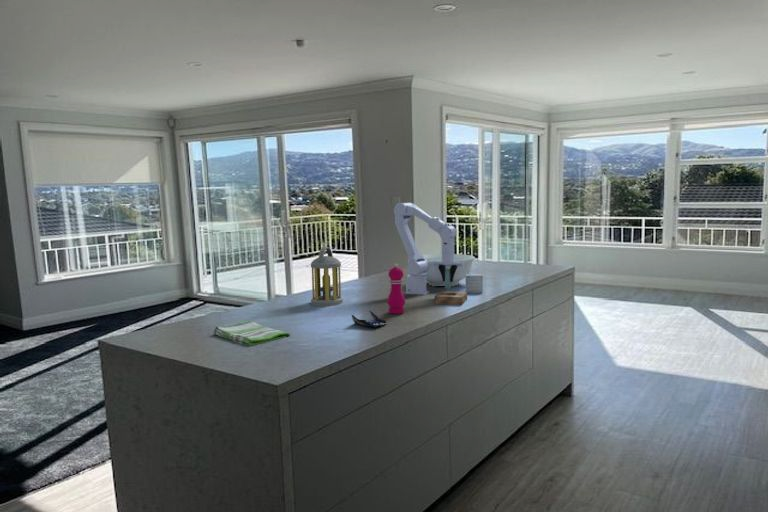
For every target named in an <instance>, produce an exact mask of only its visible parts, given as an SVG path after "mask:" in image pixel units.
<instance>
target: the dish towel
mask: <svg viewBox="0 0 768 512" xmlns="http://www.w3.org/2000/svg"><path fill="white" fill-rule="evenodd" d="M212 333H213V334H214V336H218V337H221V338H224V339H226V340H229V341H232V342H235V343H238V344H242V345H244V346H249V347H251V346H256V345H260V344H261V345H262V344H264V343H268V342H272V341H276V340H279V339H284V338H288V337H290V336H291V334H290V333H289V332H285V331H282V330H279V329H278V330H277V329H275V328H271V327H268V326H265V325H261V324H258V323H257V322H255V321H253V320H247V321H243V322H241V321H239V322H237V323H231V324H230V323H229V324H225V325H215V328H214V330H213V332H212Z"/></svg>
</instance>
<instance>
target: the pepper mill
mask: <svg viewBox="0 0 768 512" xmlns="http://www.w3.org/2000/svg"><path fill="white" fill-rule="evenodd" d="M388 277H389V278H390V280H389V281H390V282H389V283H390V285H391V286H390V292H389V295H388V298H387V303H386V304H388V306H389V308H388V313H389V314H390V313H394V314H393V315H401V314H400V313H402V314H404V313H405V308H404V306H405V305H406V298H405V296H404V294H403V291H402V284H403V279H402V278H403V277H404V271H403V269H402V268H400V267H399V265H398V263H394V264H393V267H391V268H390V269H389V271H388Z"/></svg>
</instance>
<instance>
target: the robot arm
mask: <svg viewBox="0 0 768 512" xmlns="http://www.w3.org/2000/svg"><path fill="white" fill-rule="evenodd" d="M392 212H393V214H394V224H395V227H396V230H397V232H398V235H399V237H400V240H401V242H402V244H403V247H404V249H405V252H406V255H407V257H408V259H407V261H406V262H407V265H408V271H409V273H410V274H407V275H406V279H405V285H406V287H405V288H406V289H405V290H406V292H405V294H406V295H420V294H421V295H422V294H423V295H425V296H426V295H427V294H429V292H430V291H429V290H427V289H428V288H427V282H428V281H427V280H426V274H427V271H428V270H429V264H428V262H427V261H426V260H425V259H424V257H423V256H422V255H423V254H421V252H420V250H419V249H418V247H417V245H416V242H415V239H414V237H413V234H412V232H411V230H410V227H409V225H408V222H410V221H409V220H411V218H412V216H415V217H416V218H418V219H420V220H421V221H423V222H425V223H427V226H428V228H430V229H431V230H432V231H434V232H435V233H437V234H438V235H439V237H440V238H441V254H442V261H432V266H435V265H437V266H439V267H438V269H439V271H440V273H441V275H442V279H443V282H445V268H446V266H452V267H450V270H451V279H450V281H451V282H453V278H454V274H455V272H456V269H457V267H458V266H461V267H463V266H464V262H457V261H454V254H455V237H456V236H457V232H458V231H457V228H456V227H455V226H454V225H452V224H451V225H449V223H448V222H444V221H443V220H442V219H441V217H439V216H434V217H432V216H430V215H429V214H428V213H426V212H425V210H423V209H421V208H420V207H419V206H418V205H416V204H414V203H413V202H398V203H396V204H395V207H394V208H393V211H392ZM443 264H452V265H443ZM423 295H422V296H423Z"/></svg>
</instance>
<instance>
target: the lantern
mask: <svg viewBox="0 0 768 512" xmlns="http://www.w3.org/2000/svg"><path fill="white" fill-rule="evenodd" d="M325 252H327V255H325V254H326V253H325ZM341 267H342V263H341V261H340V260H339V259H338V258H337V257H334V256H333V252H332V249H331V248H330V247H328V246H323V247H321V249H320V250H319V253H318V257H316V258H314V259H313V260H312V261H311V263H310V268H311V287H312V289H311V290H312V291H311V292H312V298H311V299H310V304H311V305H313V306H318V307H328V306H329V307H330V306H337V305H341V304H343V303H344V299H343V298H342V290H341V289H342V288H341V287H342V286H341V282H342V281H341ZM321 269H323V275H322V277H321ZM329 269H331V272H332V273H331V275H332V286H331V275H330V273H329ZM321 281H322V284H321ZM321 285H322V287H321ZM331 292H332V293H331Z"/></svg>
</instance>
